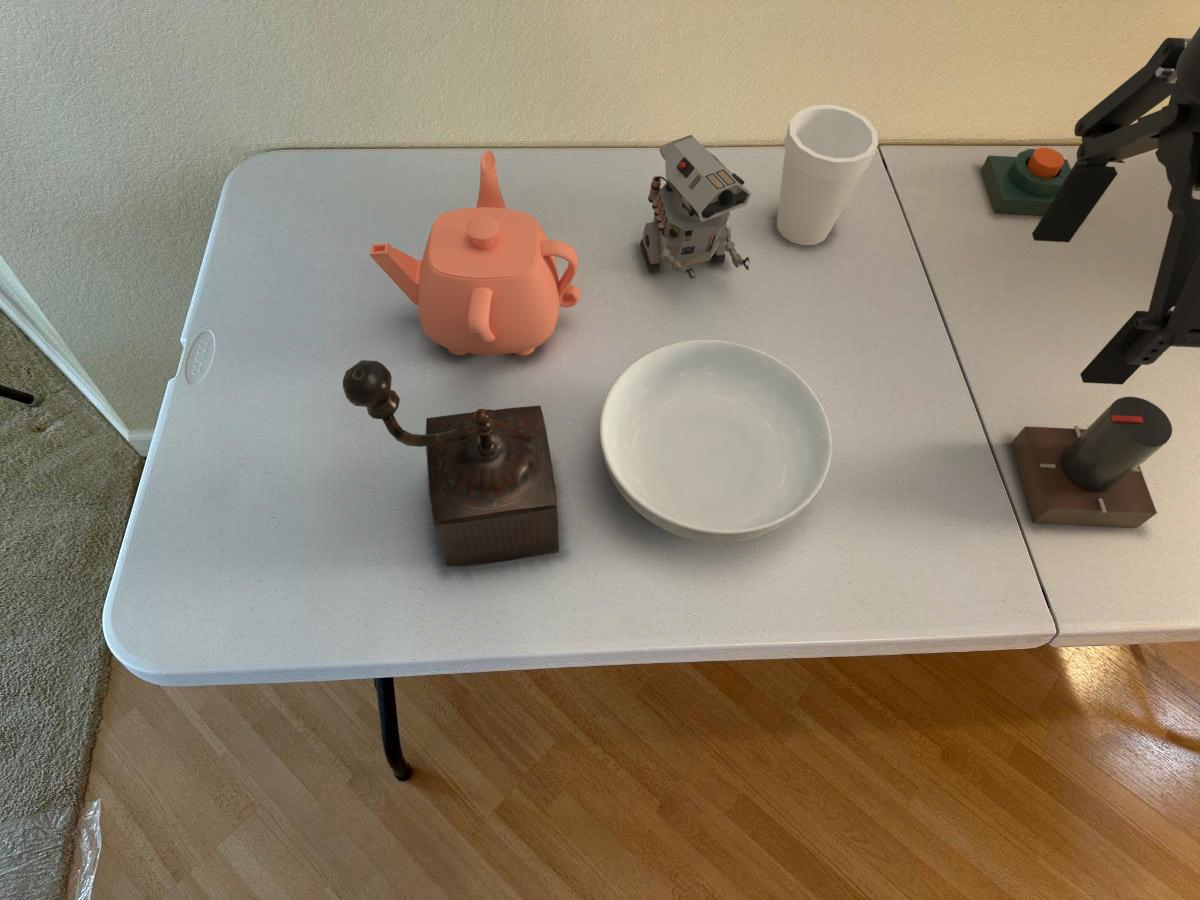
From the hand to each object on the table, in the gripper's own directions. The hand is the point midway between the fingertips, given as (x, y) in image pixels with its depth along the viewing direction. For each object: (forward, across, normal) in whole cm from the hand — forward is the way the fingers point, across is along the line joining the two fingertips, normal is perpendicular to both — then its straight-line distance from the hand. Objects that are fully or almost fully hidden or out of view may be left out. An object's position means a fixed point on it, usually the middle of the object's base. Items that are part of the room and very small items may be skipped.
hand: (1073, 304), depth 59 cm
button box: (+24, -41, +18) cm, 51 cm away
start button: (+20, -41, +18) cm, 49 cm away
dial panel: (+24, +1, +12) cm, 27 cm away
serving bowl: (+24, +1, -24) cm, 34 cm away
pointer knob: (+21, +1, +12) cm, 24 cm away
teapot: (+24, -17, -47) cm, 55 cm away
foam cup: (+24, -33, -11) cm, 42 cm away
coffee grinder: (+24, +7, -46) cm, 52 cm away
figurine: (+24, -25, -25) cm, 42 cm away
